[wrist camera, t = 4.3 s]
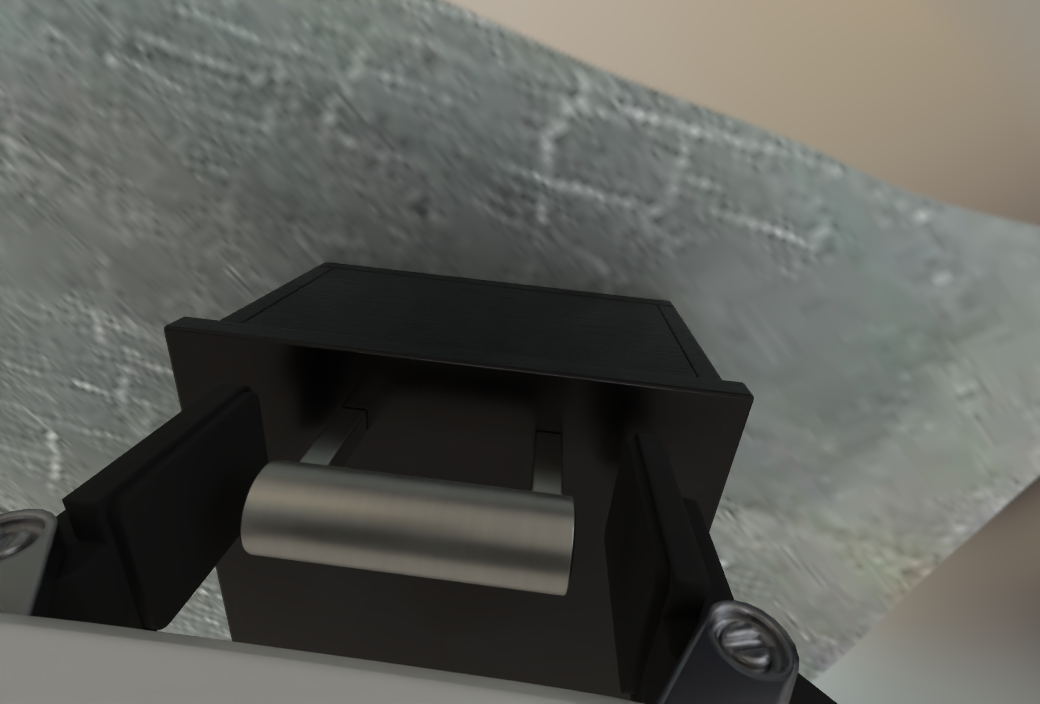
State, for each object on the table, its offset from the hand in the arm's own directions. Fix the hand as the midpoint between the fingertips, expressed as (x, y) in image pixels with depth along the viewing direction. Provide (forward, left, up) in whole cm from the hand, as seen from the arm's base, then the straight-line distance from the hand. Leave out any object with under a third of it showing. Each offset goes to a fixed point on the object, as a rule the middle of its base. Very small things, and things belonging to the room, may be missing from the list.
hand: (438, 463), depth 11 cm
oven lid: (0, -8, -2) cm, 8 cm away
